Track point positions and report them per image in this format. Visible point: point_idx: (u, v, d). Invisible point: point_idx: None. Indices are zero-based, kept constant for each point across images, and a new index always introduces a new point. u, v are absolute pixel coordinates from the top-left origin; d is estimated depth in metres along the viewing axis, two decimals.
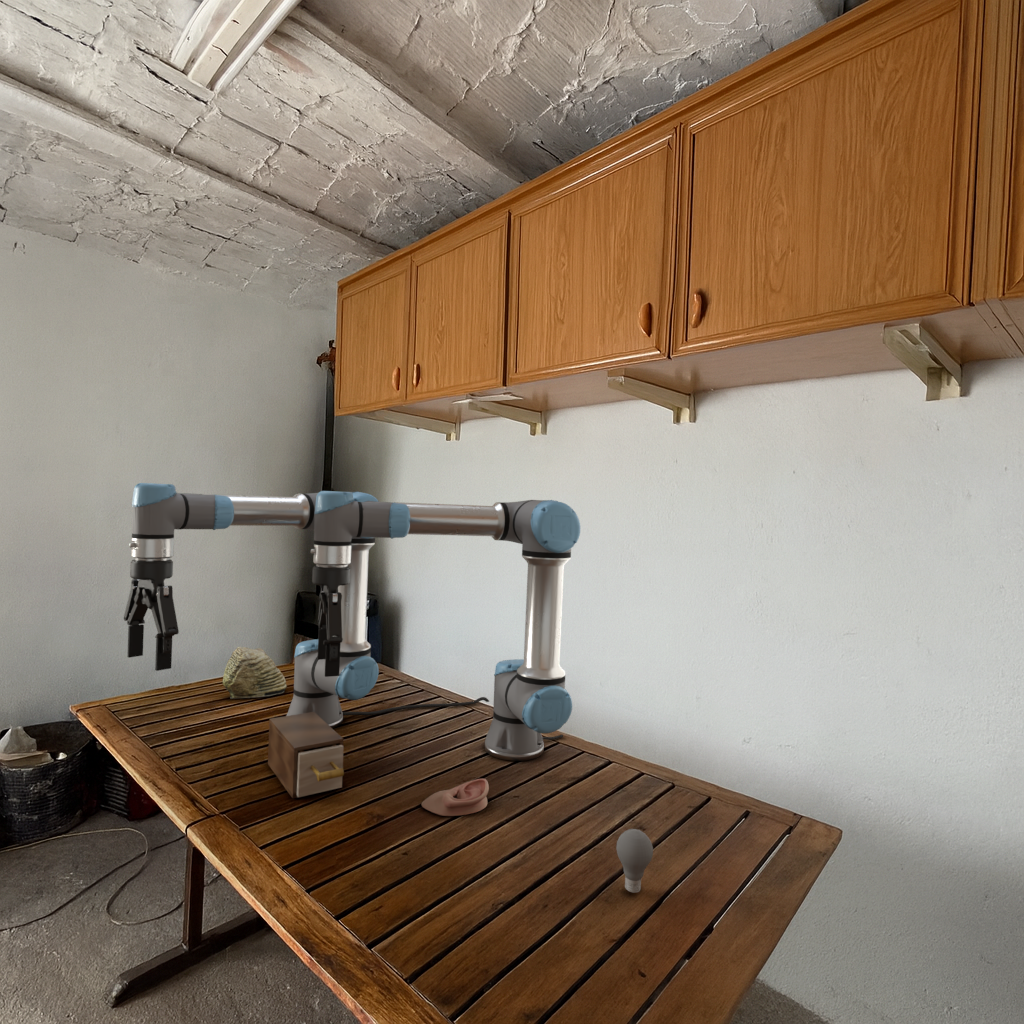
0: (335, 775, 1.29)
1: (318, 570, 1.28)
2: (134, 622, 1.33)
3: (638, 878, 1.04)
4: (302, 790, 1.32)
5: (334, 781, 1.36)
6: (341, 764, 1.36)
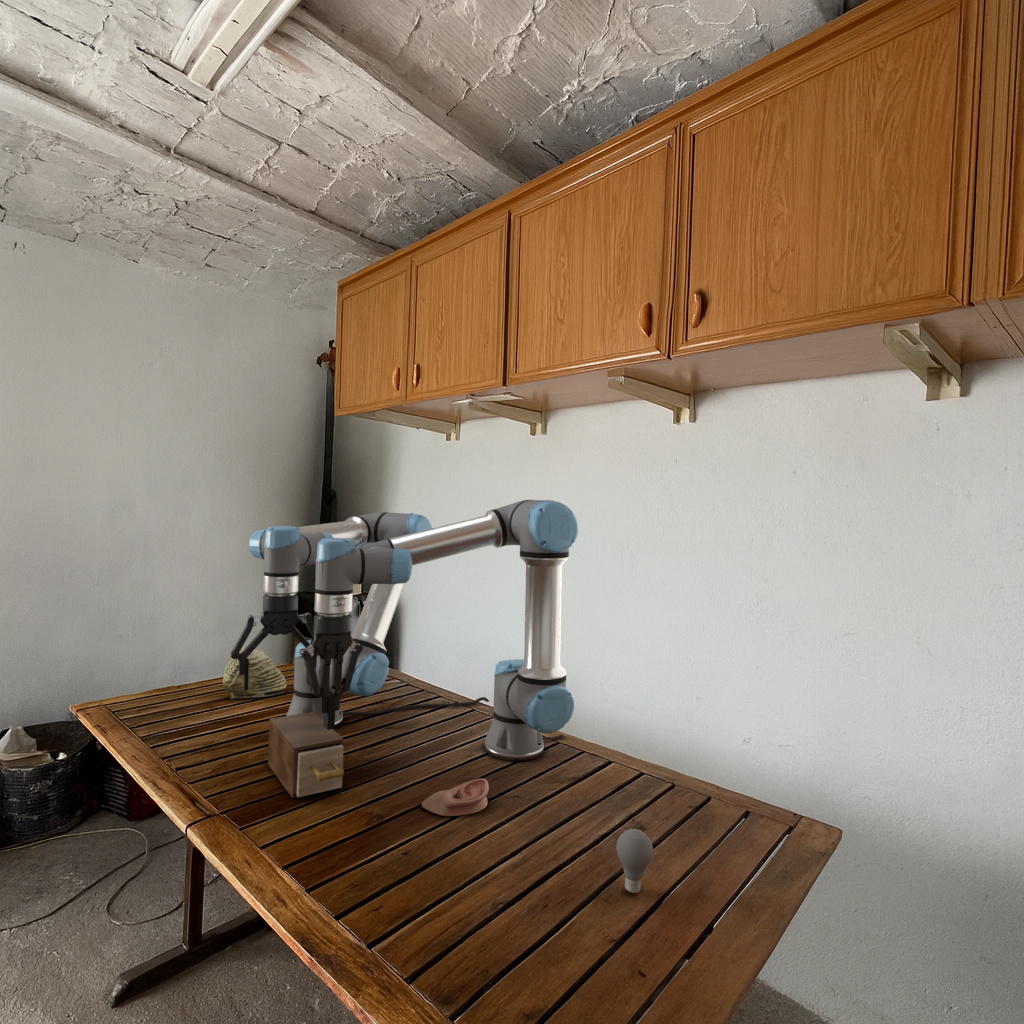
0: (335, 775, 1.29)
1: (349, 618, 1.29)
2: None
3: (638, 878, 1.04)
4: (302, 790, 1.32)
5: (334, 781, 1.36)
6: (342, 764, 1.36)
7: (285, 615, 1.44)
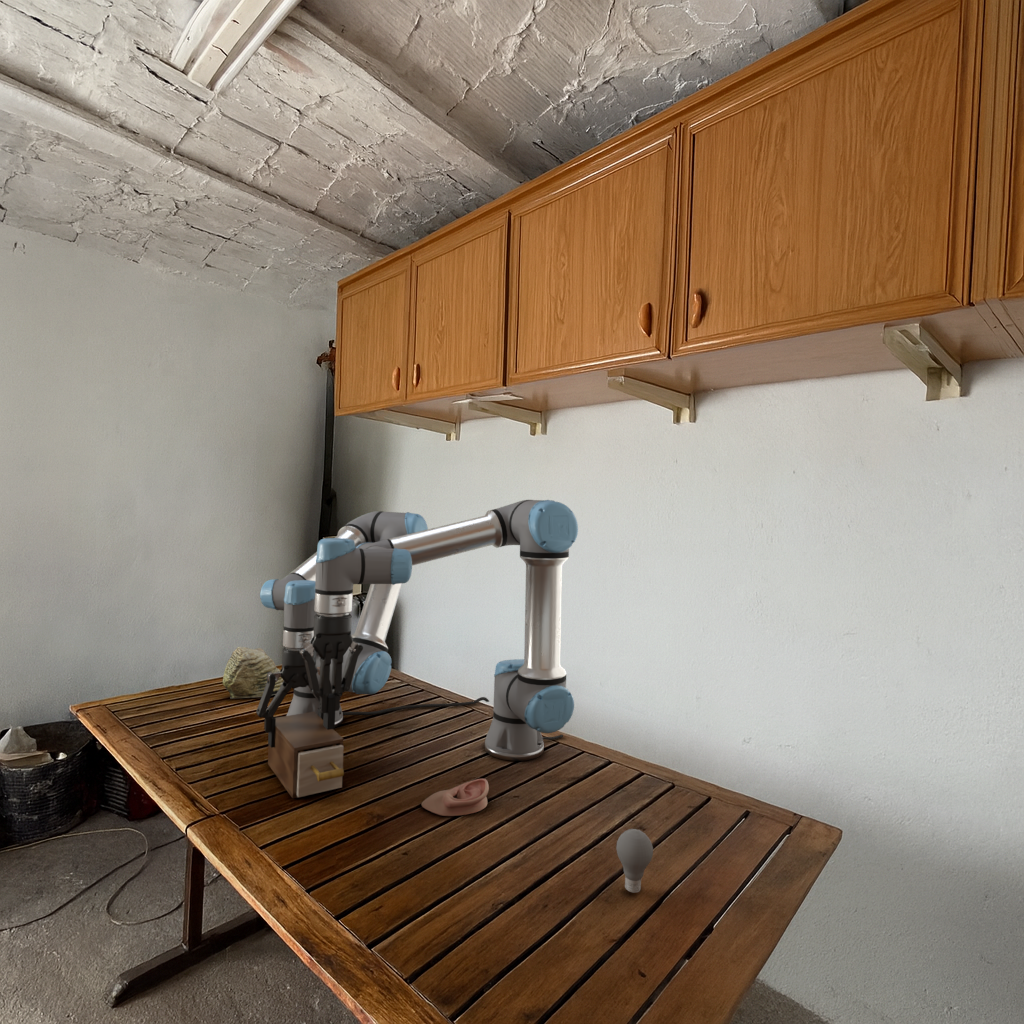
0: (335, 775, 1.29)
1: (349, 618, 1.29)
2: None
3: (638, 878, 1.04)
4: (302, 790, 1.32)
5: (334, 781, 1.36)
6: (341, 764, 1.36)
7: (304, 668, 1.48)
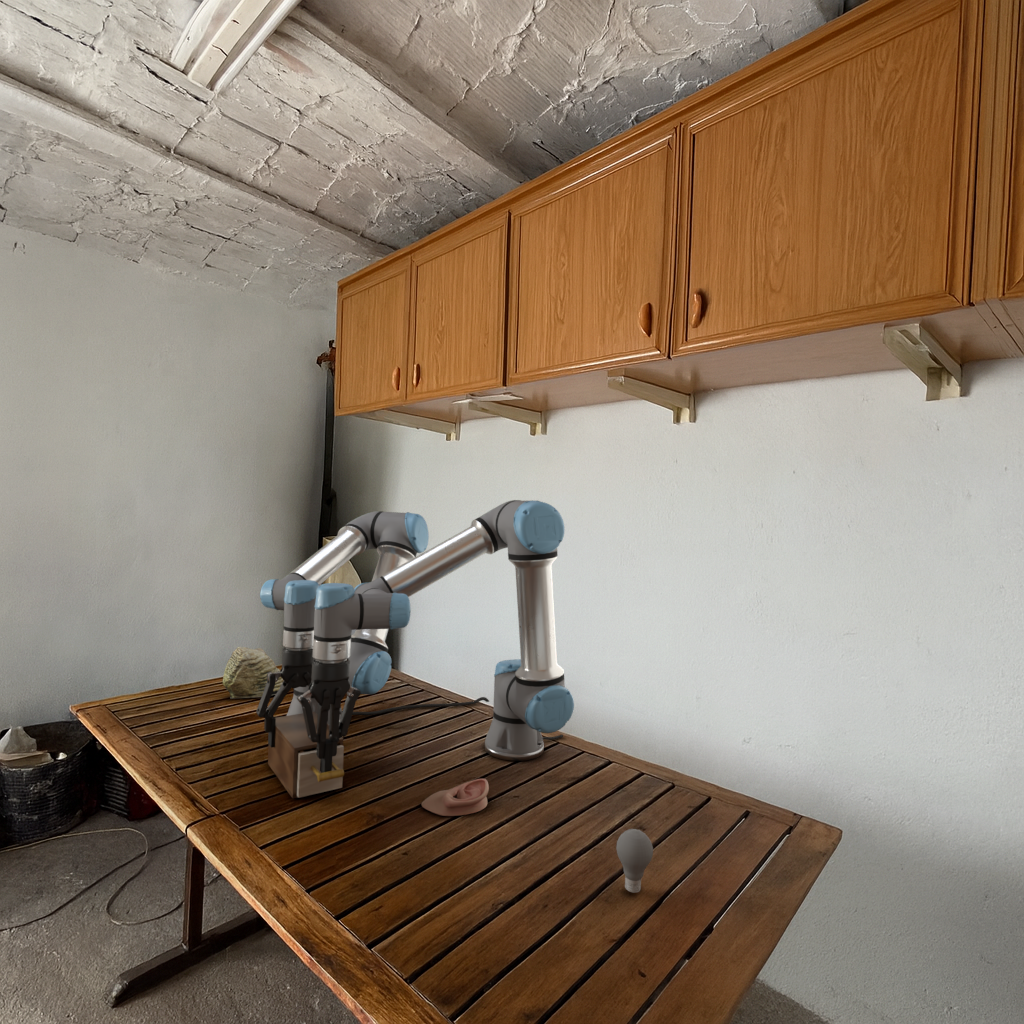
0: (336, 776, 1.29)
1: (347, 664, 1.30)
2: None
3: (638, 878, 1.04)
4: (302, 790, 1.31)
5: (334, 781, 1.35)
6: (342, 764, 1.36)
7: (304, 668, 1.48)
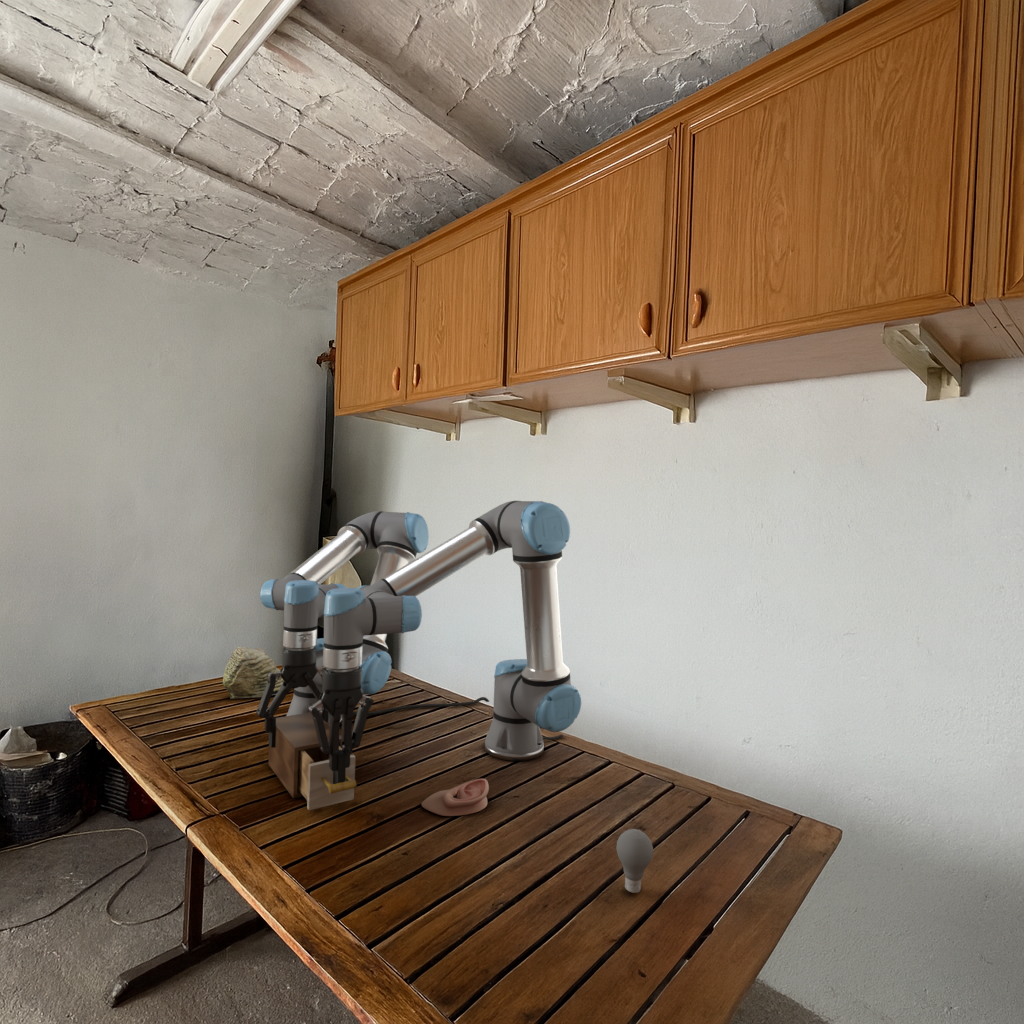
0: (348, 787, 1.24)
1: (359, 673, 1.24)
2: None
3: (638, 878, 1.04)
4: (312, 802, 1.26)
5: (346, 793, 1.30)
6: (353, 775, 1.31)
7: (305, 668, 1.48)
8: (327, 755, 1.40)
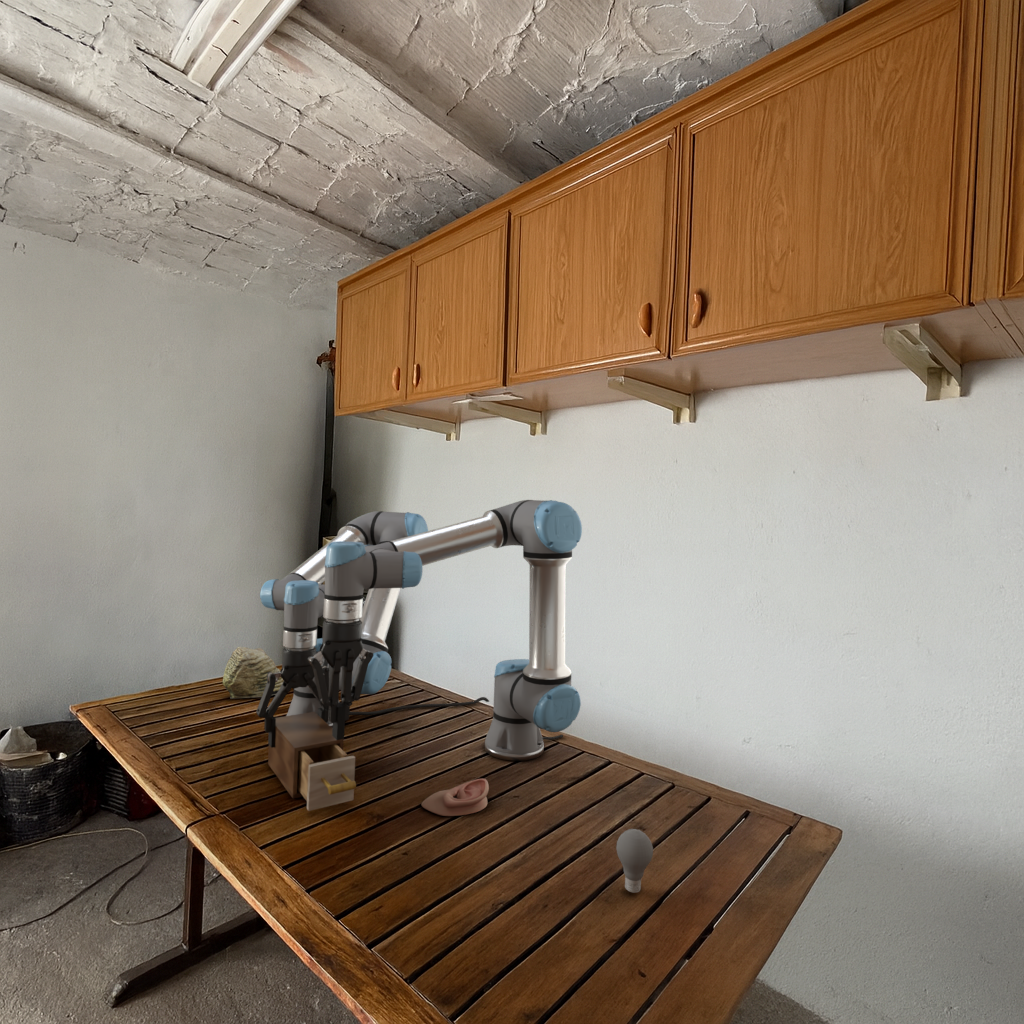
0: (347, 788, 1.24)
1: (359, 625, 1.25)
2: None
3: (638, 878, 1.04)
4: (312, 803, 1.26)
5: (345, 794, 1.30)
6: (353, 775, 1.31)
7: (304, 668, 1.48)
8: (327, 755, 1.40)
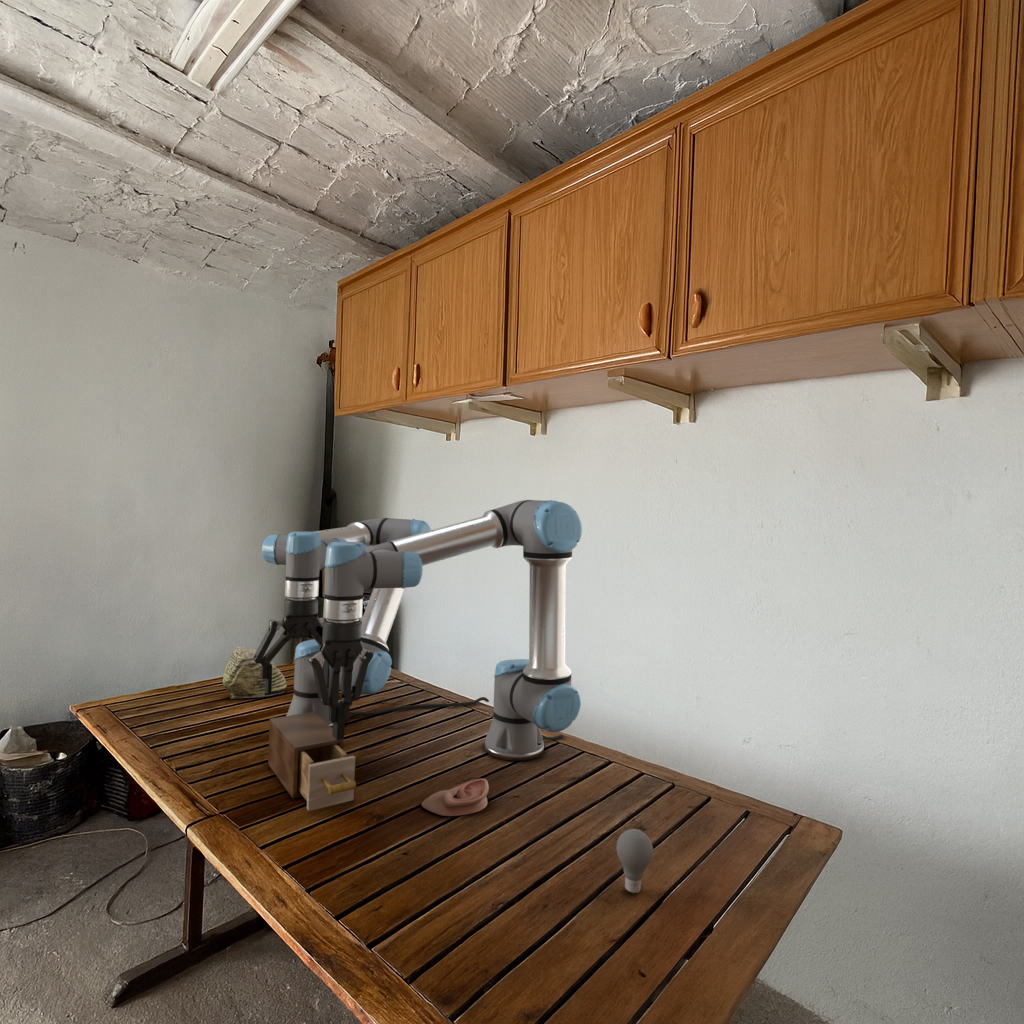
0: (347, 788, 1.24)
1: (359, 625, 1.25)
2: None
3: (638, 878, 1.04)
4: (312, 803, 1.26)
5: (345, 793, 1.30)
6: (353, 775, 1.31)
7: (306, 619, 1.48)
8: (327, 755, 1.40)
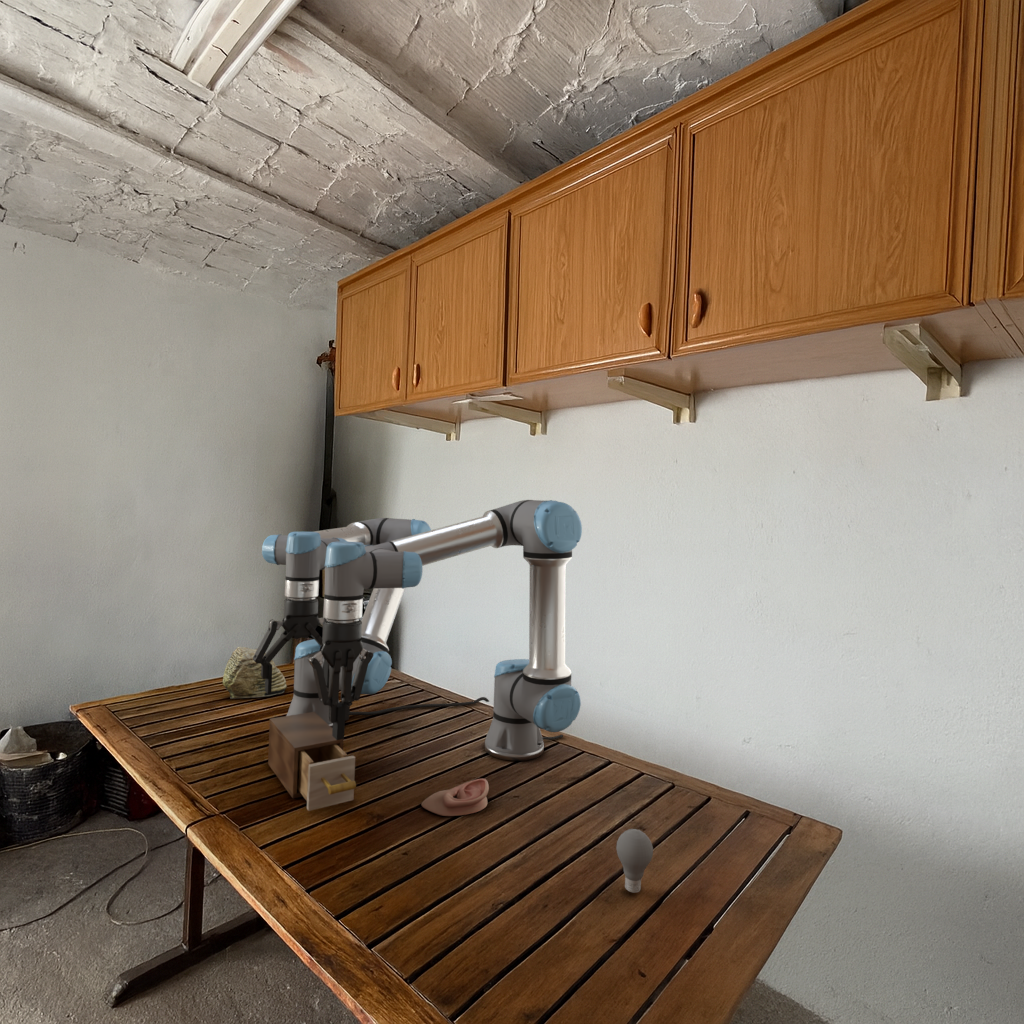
0: (347, 788, 1.24)
1: (359, 625, 1.25)
2: None
3: (638, 878, 1.04)
4: (312, 803, 1.26)
5: (345, 793, 1.30)
6: (353, 775, 1.31)
7: (306, 619, 1.48)
8: (327, 755, 1.40)
